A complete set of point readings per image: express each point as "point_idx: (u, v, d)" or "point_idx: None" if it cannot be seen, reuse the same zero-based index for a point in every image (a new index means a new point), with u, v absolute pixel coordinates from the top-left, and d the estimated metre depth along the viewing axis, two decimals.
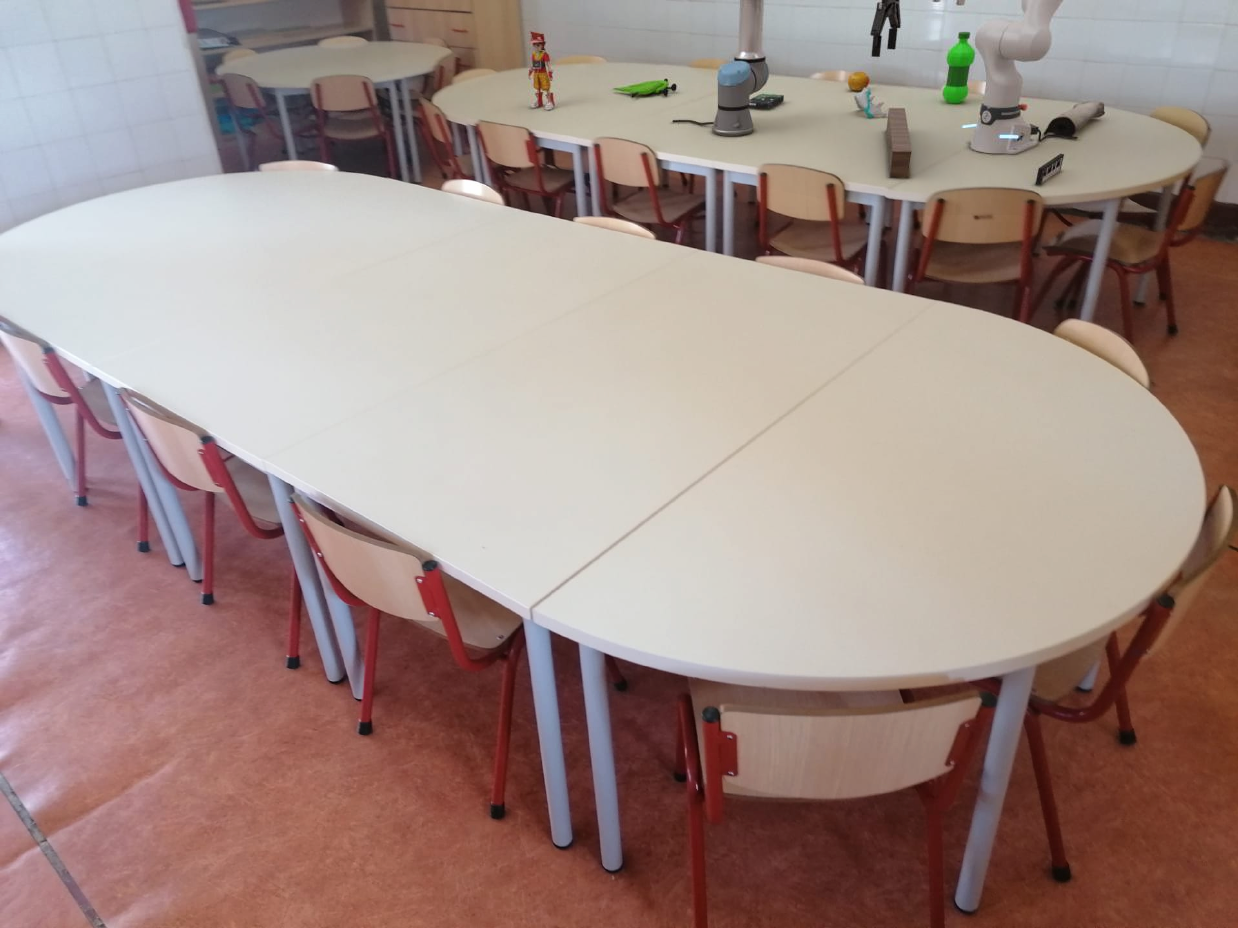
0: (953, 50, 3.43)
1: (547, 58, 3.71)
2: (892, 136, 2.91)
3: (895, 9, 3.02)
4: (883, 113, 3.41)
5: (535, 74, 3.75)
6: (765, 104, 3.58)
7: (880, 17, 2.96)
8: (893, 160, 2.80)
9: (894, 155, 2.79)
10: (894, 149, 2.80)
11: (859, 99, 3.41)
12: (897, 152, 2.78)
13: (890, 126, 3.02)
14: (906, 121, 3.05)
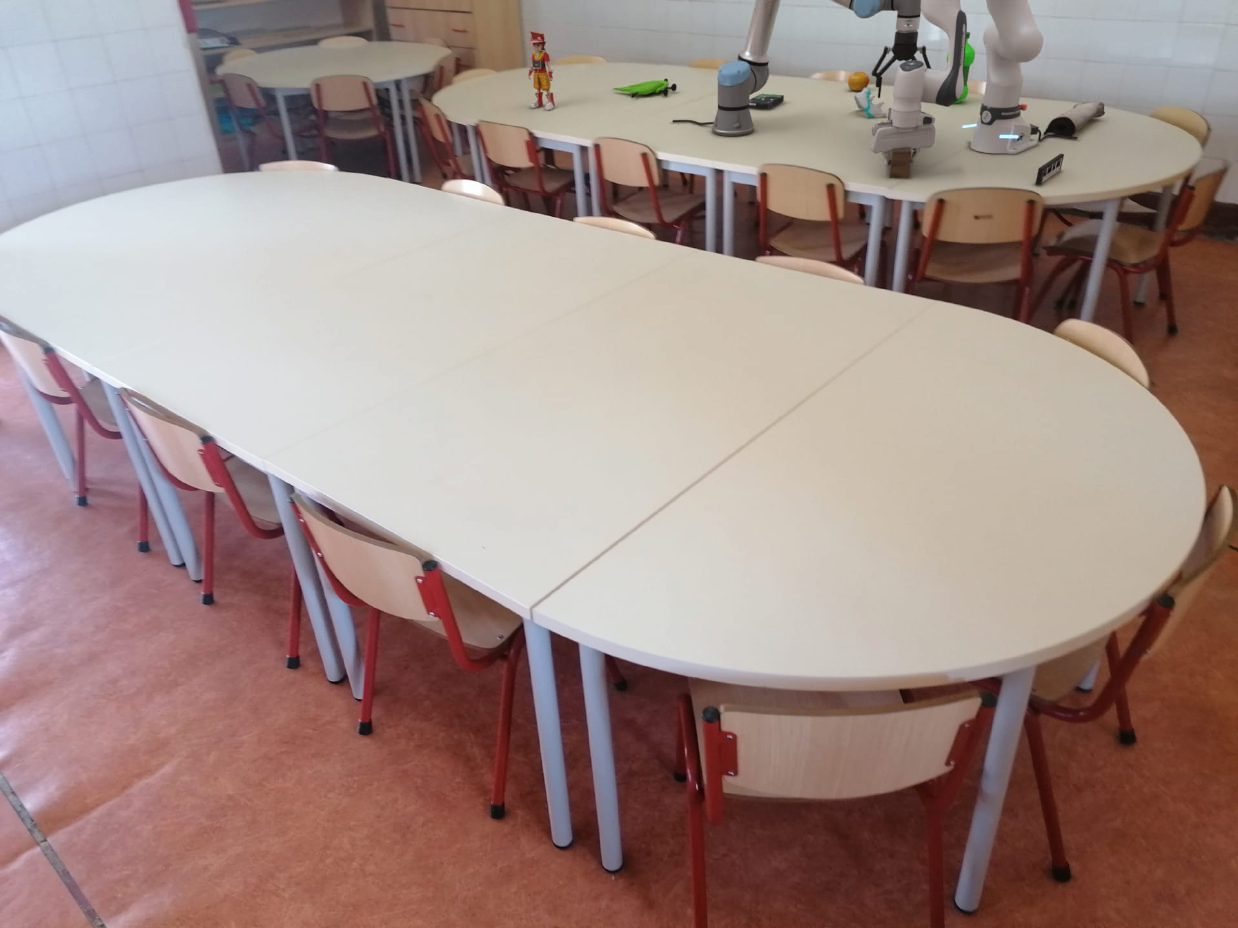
0: None
1: (547, 58, 3.71)
2: None
3: (912, 57, 3.04)
4: (883, 113, 3.41)
5: (535, 74, 3.75)
6: (765, 104, 3.58)
7: (879, 60, 3.07)
8: (893, 160, 2.80)
9: (894, 155, 2.79)
10: (894, 149, 2.80)
11: (859, 99, 3.41)
12: (897, 152, 2.78)
13: None
14: None
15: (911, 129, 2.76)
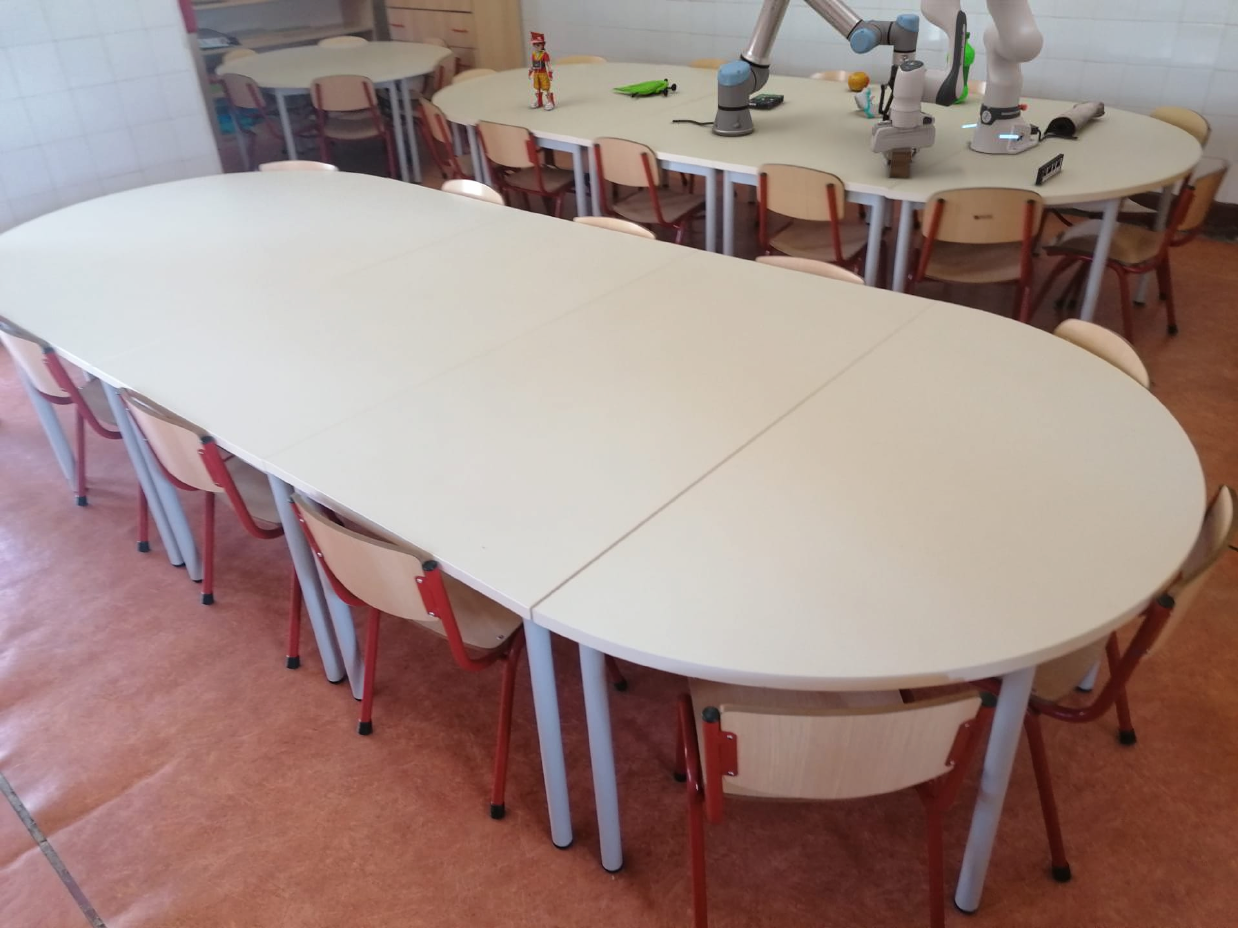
0: None
1: (547, 58, 3.71)
2: None
3: None
4: None
5: (535, 74, 3.75)
6: (765, 104, 3.58)
7: (880, 98, 3.14)
8: (893, 160, 2.80)
9: (894, 155, 2.79)
10: (894, 149, 2.80)
11: (859, 99, 3.41)
12: (897, 152, 2.78)
13: None
14: None
15: (911, 129, 2.76)
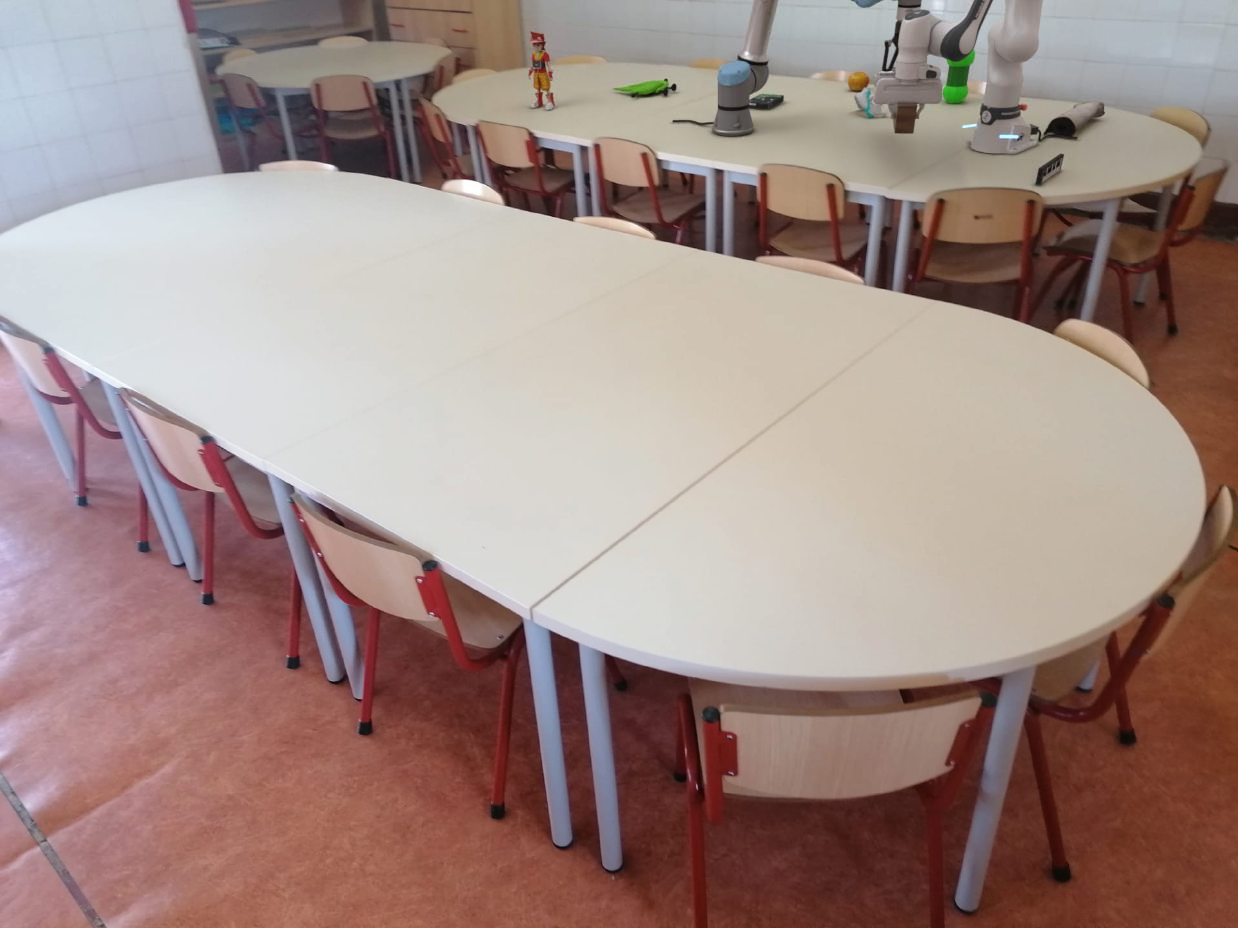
0: None
1: (547, 58, 3.71)
2: None
3: None
4: (883, 113, 3.41)
5: (535, 74, 3.75)
6: (765, 104, 3.58)
7: (884, 55, 3.06)
8: (898, 115, 2.72)
9: (899, 110, 2.71)
10: (899, 103, 2.72)
11: (859, 99, 3.41)
12: (902, 106, 2.70)
13: None
14: None
15: (913, 82, 2.68)
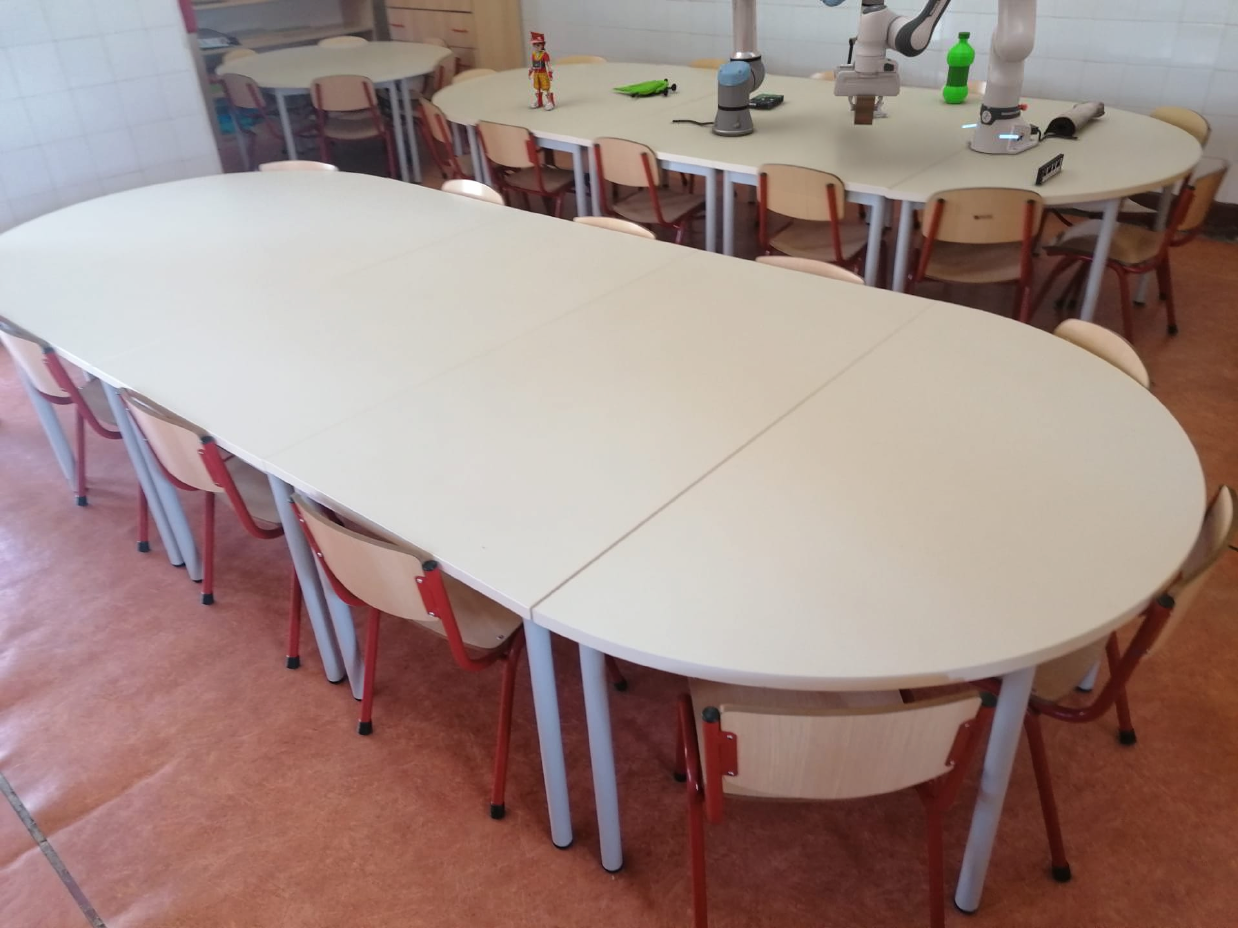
0: (953, 50, 3.43)
1: (547, 58, 3.71)
2: None
3: None
4: (883, 113, 3.41)
5: (535, 74, 3.75)
6: (765, 104, 3.58)
7: (849, 53, 3.15)
8: (857, 106, 2.80)
9: (858, 101, 2.79)
10: (858, 95, 2.80)
11: None
12: (861, 98, 2.79)
13: None
14: None
15: (872, 75, 2.77)
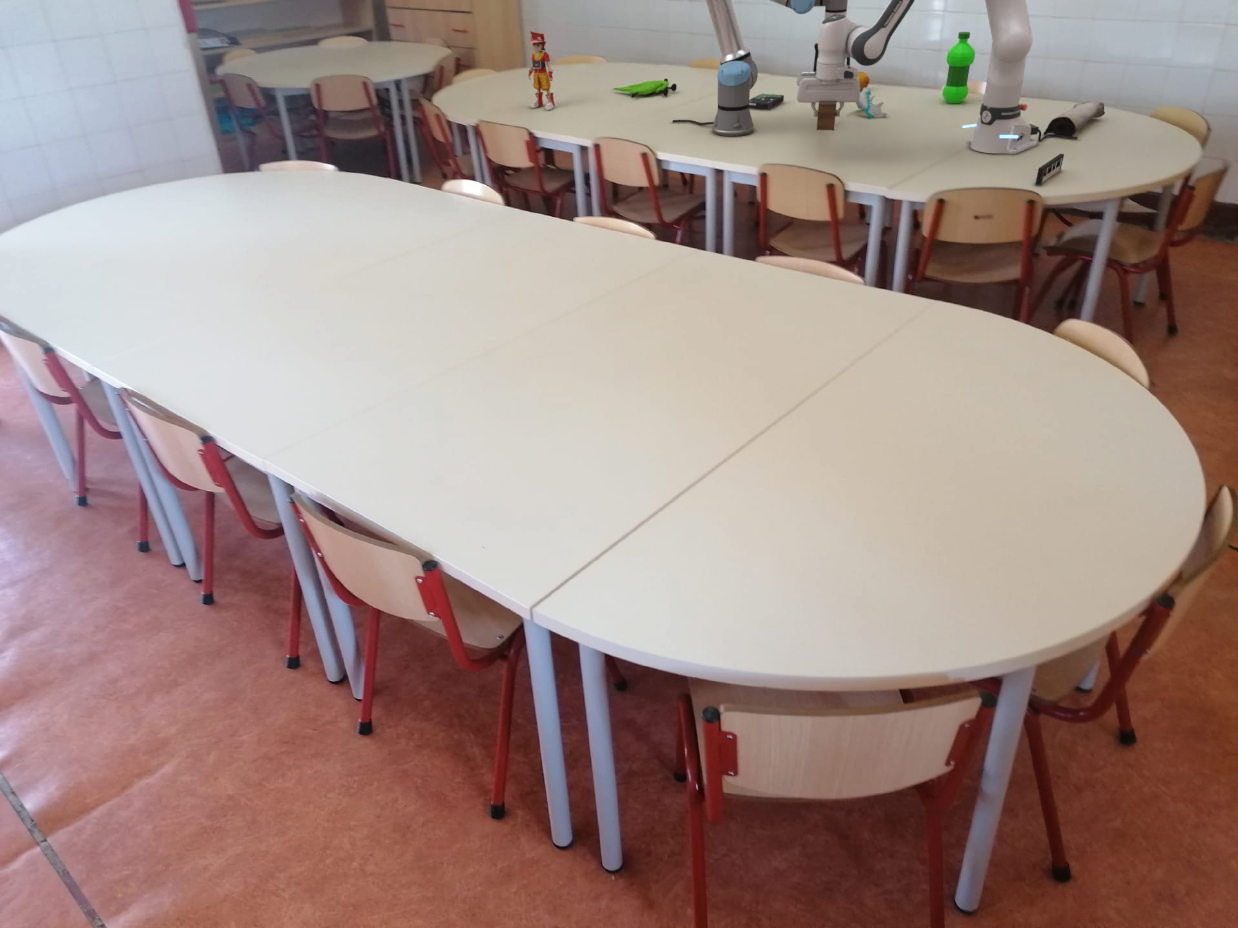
0: (953, 50, 3.43)
1: (547, 58, 3.71)
2: None
3: None
4: (883, 113, 3.41)
5: (535, 74, 3.75)
6: (765, 104, 3.58)
7: None
8: (819, 113, 2.91)
9: (820, 108, 2.90)
10: (820, 102, 2.91)
11: None
12: (823, 105, 2.90)
13: None
14: None
15: (832, 82, 2.88)
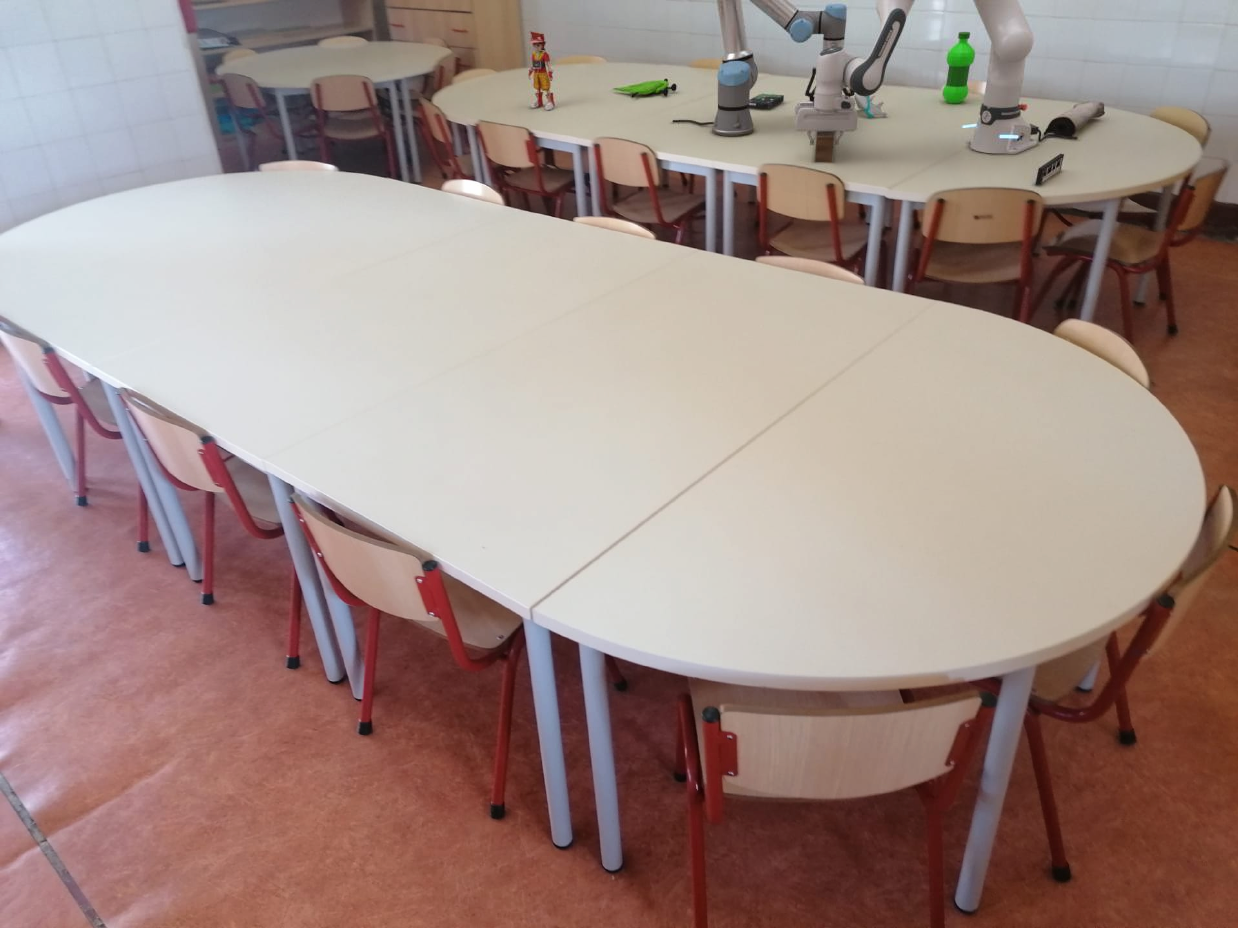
0: (953, 50, 3.43)
1: (547, 58, 3.71)
2: None
3: None
4: (883, 113, 3.41)
5: (535, 74, 3.75)
6: (765, 104, 3.58)
7: (810, 81, 3.30)
8: (817, 145, 2.97)
9: (818, 140, 2.96)
10: (818, 135, 2.97)
11: (859, 99, 3.41)
12: (821, 138, 2.95)
13: None
14: None
15: (830, 112, 2.93)
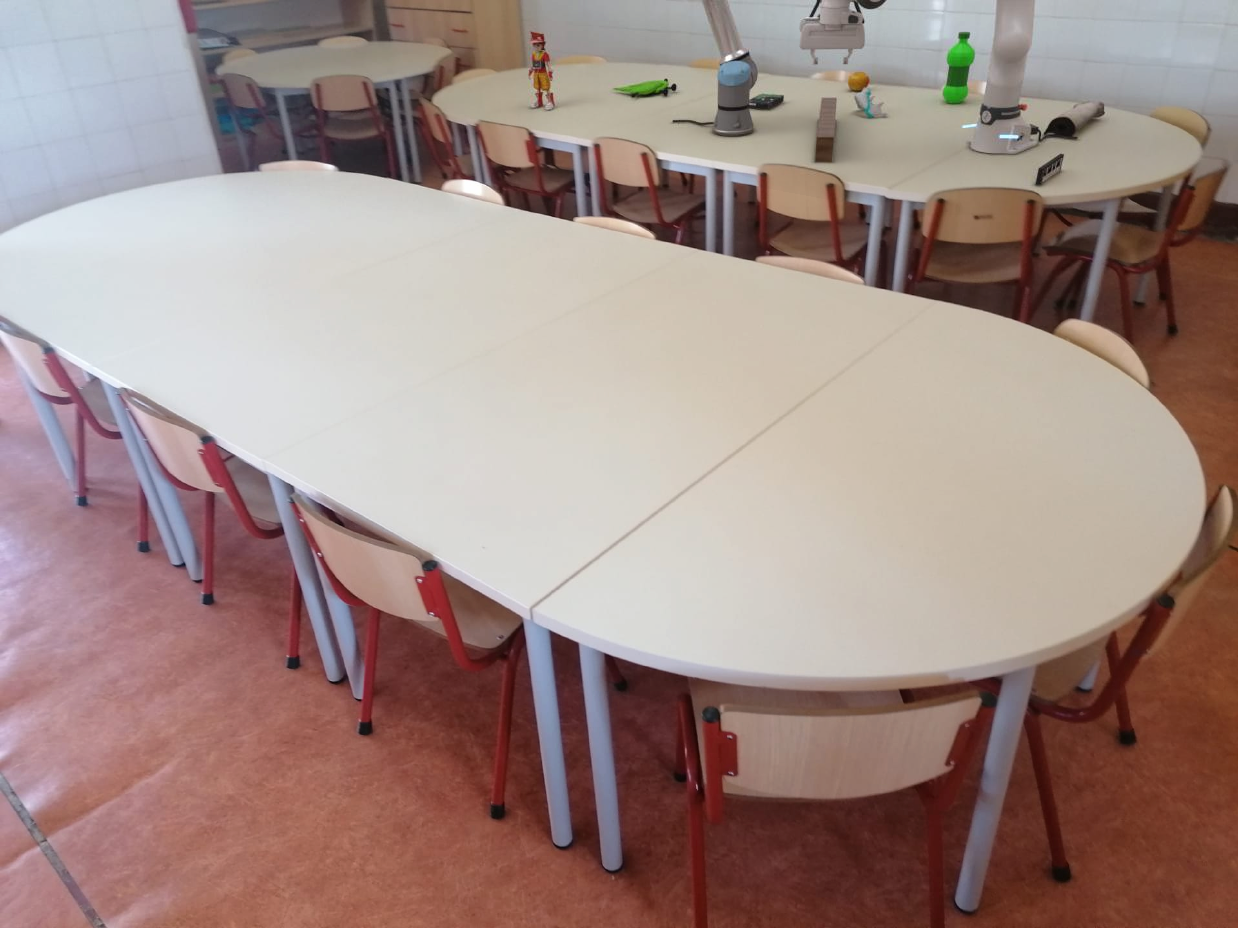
0: (953, 50, 3.43)
1: (547, 58, 3.71)
2: (819, 123, 3.09)
3: None
4: (883, 113, 3.41)
5: (535, 74, 3.75)
6: (765, 104, 3.58)
7: (813, 9, 3.17)
8: (817, 145, 2.97)
9: (818, 140, 2.96)
10: (818, 135, 2.97)
11: (859, 99, 3.41)
12: (821, 138, 2.95)
13: None
14: (835, 109, 3.23)
15: (836, 27, 2.78)
